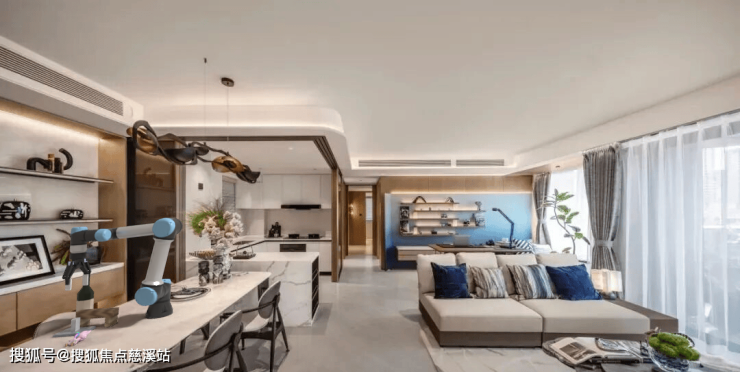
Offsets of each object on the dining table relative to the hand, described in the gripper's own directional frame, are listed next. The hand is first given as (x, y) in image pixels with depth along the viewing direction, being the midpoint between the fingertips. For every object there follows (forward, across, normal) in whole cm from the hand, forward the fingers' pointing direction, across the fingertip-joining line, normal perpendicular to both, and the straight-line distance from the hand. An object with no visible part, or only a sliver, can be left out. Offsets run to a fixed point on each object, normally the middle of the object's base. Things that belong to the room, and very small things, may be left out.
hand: (76, 287), depth 188 cm
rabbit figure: (+24, +26, +19) cm, 40 cm away
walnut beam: (+18, 0, +12) cm, 22 cm away
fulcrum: (+23, +10, +7) cm, 26 cm away
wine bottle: (+23, -16, -5) cm, 28 cm away
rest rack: (+23, 0, +12) cm, 26 cm away
